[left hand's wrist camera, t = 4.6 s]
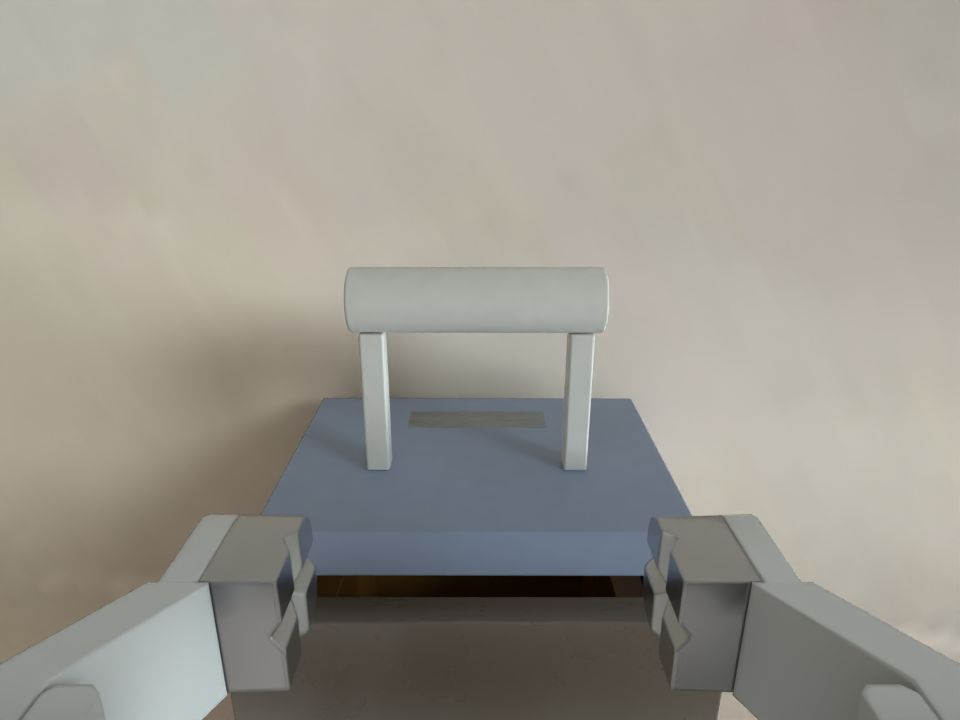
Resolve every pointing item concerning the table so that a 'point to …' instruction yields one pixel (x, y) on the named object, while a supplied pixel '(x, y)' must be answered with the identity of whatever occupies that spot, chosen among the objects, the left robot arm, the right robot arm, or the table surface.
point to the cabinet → (478, 663)
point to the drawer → (477, 454)
